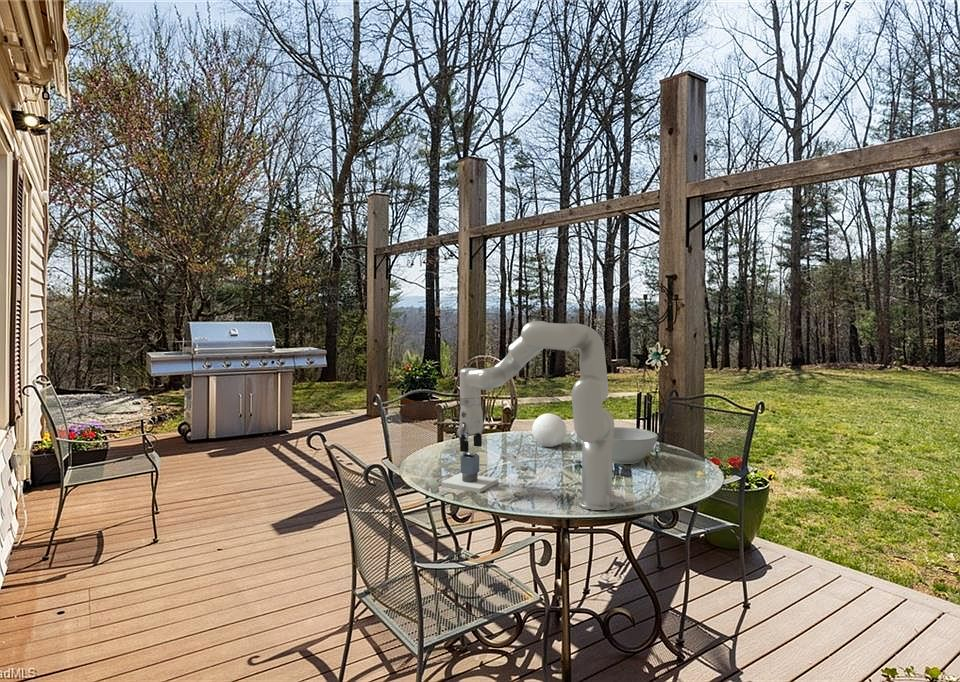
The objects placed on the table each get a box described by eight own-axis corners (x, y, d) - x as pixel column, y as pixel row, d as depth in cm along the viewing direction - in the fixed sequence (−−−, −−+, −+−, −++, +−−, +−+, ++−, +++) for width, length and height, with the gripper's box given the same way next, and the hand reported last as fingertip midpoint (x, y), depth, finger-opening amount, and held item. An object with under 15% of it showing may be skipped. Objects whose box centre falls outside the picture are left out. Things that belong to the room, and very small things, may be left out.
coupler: (479, 471, 200) (479, 452, 199) (472, 474, 195) (472, 455, 195) (467, 469, 202) (467, 451, 202) (460, 472, 197) (460, 454, 197)
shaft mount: (498, 482, 201) (498, 456, 201) (479, 492, 189) (479, 465, 188) (460, 476, 209) (460, 451, 208) (441, 486, 196) (441, 459, 196)
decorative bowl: (580, 460, 234) (580, 432, 234) (616, 450, 252) (616, 424, 252) (634, 473, 214) (634, 442, 214) (669, 462, 232) (670, 433, 232)
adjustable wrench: (527, 471, 218) (527, 467, 218) (511, 472, 217) (511, 468, 217) (512, 455, 243) (512, 451, 243) (498, 456, 242) (498, 452, 242)
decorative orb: (530, 450, 251) (531, 416, 251) (524, 442, 269) (524, 410, 268) (573, 450, 253) (573, 416, 252) (564, 441, 270) (564, 409, 270)
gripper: (467, 405, 188) (468, 455, 189) (490, 399, 203) (491, 445, 204) (449, 404, 192) (449, 452, 192) (473, 398, 207) (473, 443, 207)
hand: (471, 448), depth 198 cm, fingers open, 9 cm apart
